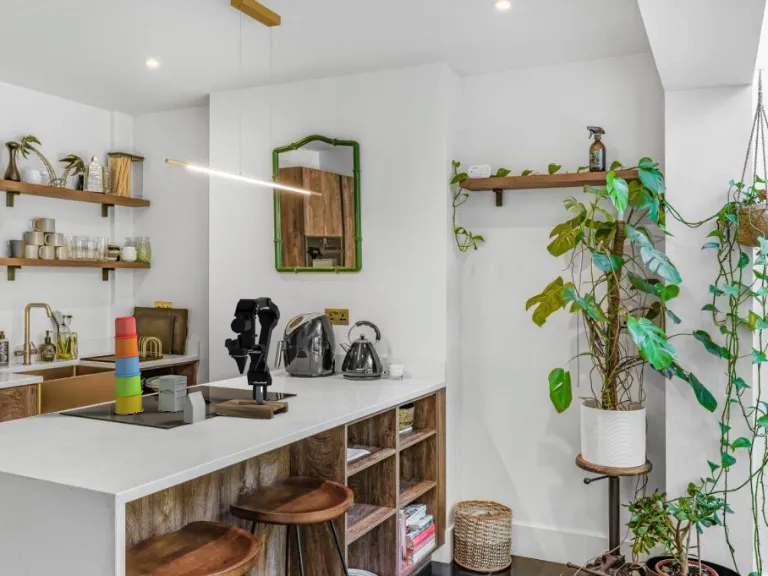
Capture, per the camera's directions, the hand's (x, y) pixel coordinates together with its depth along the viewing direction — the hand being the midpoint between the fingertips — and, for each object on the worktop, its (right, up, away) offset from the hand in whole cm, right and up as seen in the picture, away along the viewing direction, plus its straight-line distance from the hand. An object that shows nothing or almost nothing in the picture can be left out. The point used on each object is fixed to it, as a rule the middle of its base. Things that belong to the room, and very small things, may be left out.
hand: (247, 372), depth 260 cm
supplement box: (-26, -13, -9) cm, 30 cm away
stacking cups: (-40, -13, -14) cm, 44 cm away
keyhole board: (+4, -13, -13) cm, 19 cm away
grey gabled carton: (-12, -13, -29) cm, 34 cm away
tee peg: (+7, -13, -14) cm, 20 cm away
